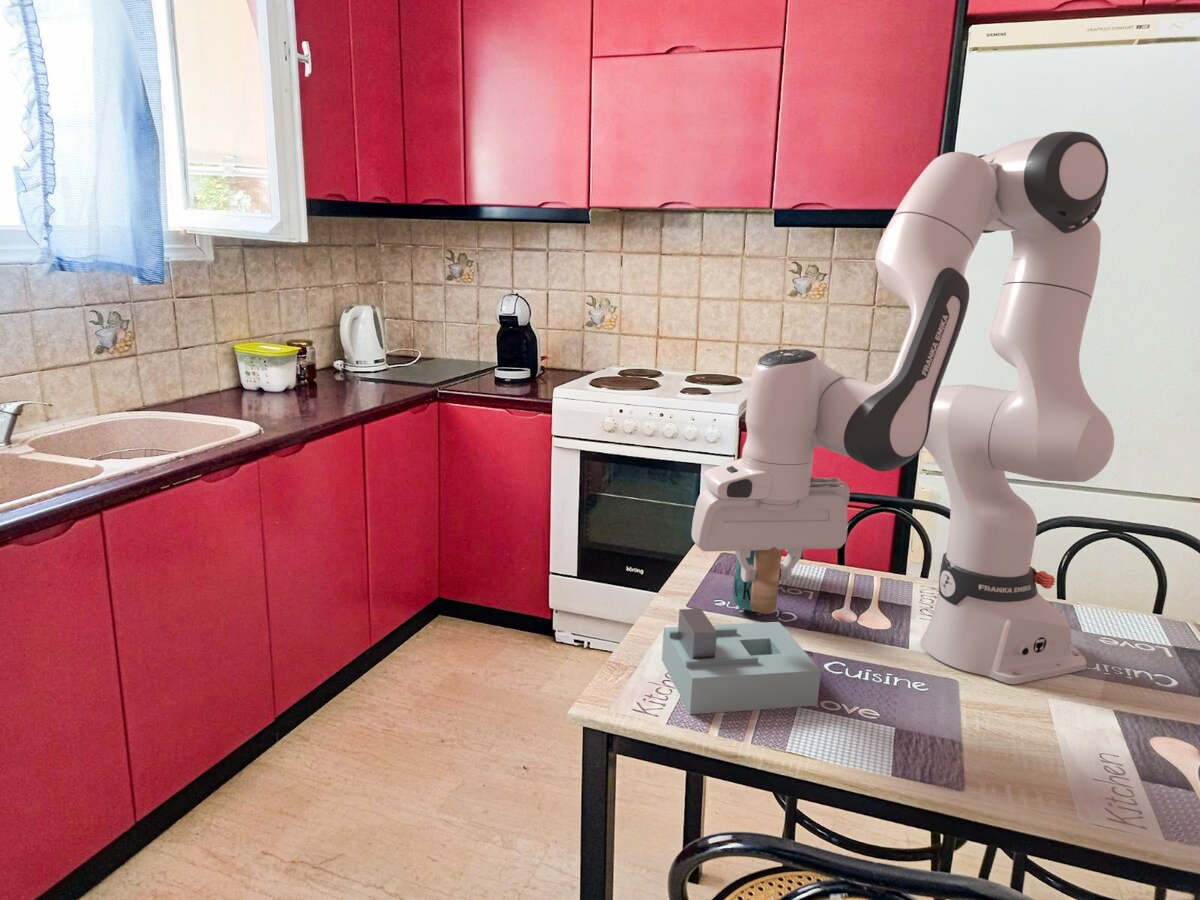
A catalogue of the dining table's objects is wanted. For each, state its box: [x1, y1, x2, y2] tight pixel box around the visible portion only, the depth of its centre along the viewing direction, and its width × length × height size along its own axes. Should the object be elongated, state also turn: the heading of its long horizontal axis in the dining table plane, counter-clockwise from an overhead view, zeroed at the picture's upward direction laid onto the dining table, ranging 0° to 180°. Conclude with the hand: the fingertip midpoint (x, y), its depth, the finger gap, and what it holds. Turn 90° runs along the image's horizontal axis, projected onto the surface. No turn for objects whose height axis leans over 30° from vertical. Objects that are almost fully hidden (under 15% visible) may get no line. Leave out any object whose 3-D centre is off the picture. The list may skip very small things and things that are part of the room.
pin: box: [750, 547, 783, 614], centre depth 110 cm, size 3×3×10 cm
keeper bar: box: [677, 608, 717, 660], centre depth 111 cm, size 3×7×4 cm, turn 10°
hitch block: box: [661, 621, 822, 715], centre depth 113 cm, size 17×14×6 cm
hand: (765, 579), depth 111 cm, fingers closed on pin, 3 cm apart
